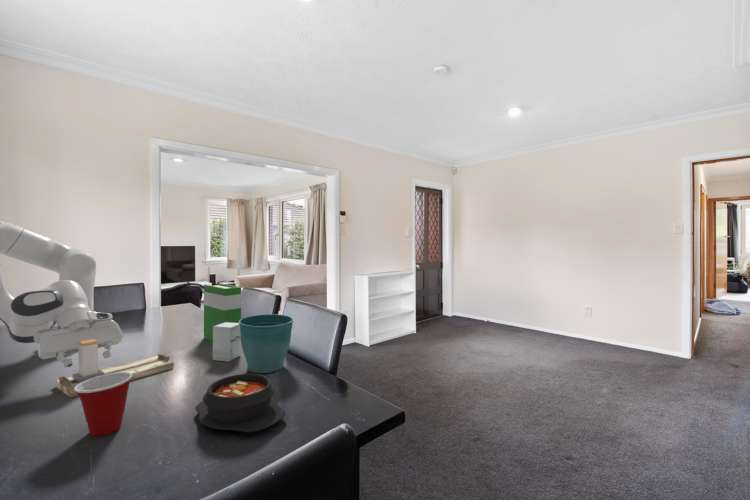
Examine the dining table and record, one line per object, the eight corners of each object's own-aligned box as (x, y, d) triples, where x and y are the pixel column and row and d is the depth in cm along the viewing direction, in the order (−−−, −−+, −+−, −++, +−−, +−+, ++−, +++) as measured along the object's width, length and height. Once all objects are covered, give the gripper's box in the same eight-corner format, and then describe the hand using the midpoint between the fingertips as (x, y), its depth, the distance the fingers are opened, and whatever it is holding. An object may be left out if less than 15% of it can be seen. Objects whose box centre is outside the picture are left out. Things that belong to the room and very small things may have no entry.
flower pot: (302, 362, 129) (303, 316, 128) (272, 381, 112) (273, 328, 111) (261, 356, 135) (261, 312, 134) (226, 373, 118) (227, 322, 117)
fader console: (56, 386, 105) (55, 374, 105) (156, 360, 128) (156, 351, 128) (70, 397, 98) (69, 384, 98) (173, 368, 121) (173, 357, 121)
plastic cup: (96, 418, 87) (96, 370, 87) (142, 417, 88) (142, 370, 88) (61, 444, 76) (60, 389, 76) (114, 442, 77) (113, 388, 77)
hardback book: (203, 338, 157) (203, 284, 157) (219, 334, 163) (219, 283, 162) (224, 346, 146) (224, 288, 146) (240, 342, 152) (241, 287, 152)
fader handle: (72, 378, 105) (71, 341, 105) (96, 372, 110) (96, 337, 110) (79, 382, 102) (79, 345, 102) (104, 376, 107) (104, 340, 107)
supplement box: (230, 361, 128) (230, 327, 128) (211, 360, 130) (212, 326, 129) (241, 355, 135) (241, 322, 135) (224, 353, 137) (224, 321, 137)
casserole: (302, 415, 91) (302, 383, 90) (240, 452, 75) (240, 413, 75) (239, 392, 104) (239, 363, 104) (175, 418, 88) (175, 385, 88)
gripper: (34, 324, 101) (44, 365, 96) (117, 312, 118) (130, 347, 113) (29, 337, 104) (40, 378, 98) (111, 324, 121) (124, 358, 115)
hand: (89, 361), depth 106 cm, fingers open, 8 cm apart
